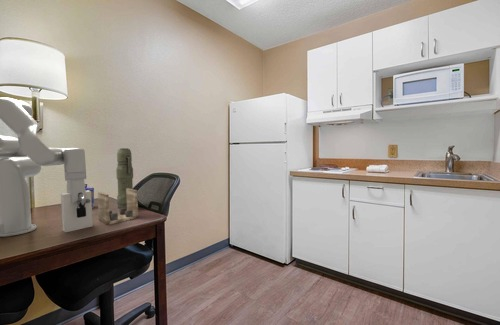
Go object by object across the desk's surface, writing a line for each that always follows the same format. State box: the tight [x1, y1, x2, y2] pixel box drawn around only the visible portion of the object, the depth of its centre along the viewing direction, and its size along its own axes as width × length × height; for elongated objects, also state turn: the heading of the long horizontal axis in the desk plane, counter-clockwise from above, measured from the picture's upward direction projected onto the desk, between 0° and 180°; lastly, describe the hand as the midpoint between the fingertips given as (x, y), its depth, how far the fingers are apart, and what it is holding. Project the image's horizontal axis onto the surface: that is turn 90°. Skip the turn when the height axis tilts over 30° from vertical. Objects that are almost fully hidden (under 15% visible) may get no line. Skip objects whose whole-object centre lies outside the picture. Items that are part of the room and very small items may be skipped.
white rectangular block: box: [60, 190, 94, 233], centre depth 104 cm, size 10×5×16 cm, turn 140°
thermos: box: [115, 147, 134, 210], centre depth 141 cm, size 9×12×35 cm
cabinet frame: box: [97, 188, 139, 226], centre depth 117 cm, size 14×10×14 cm
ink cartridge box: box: [85, 183, 95, 209], centre depth 137 cm, size 10×6×14 cm, turn 155°
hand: (78, 214), depth 104 cm, fingers open, 9 cm apart
